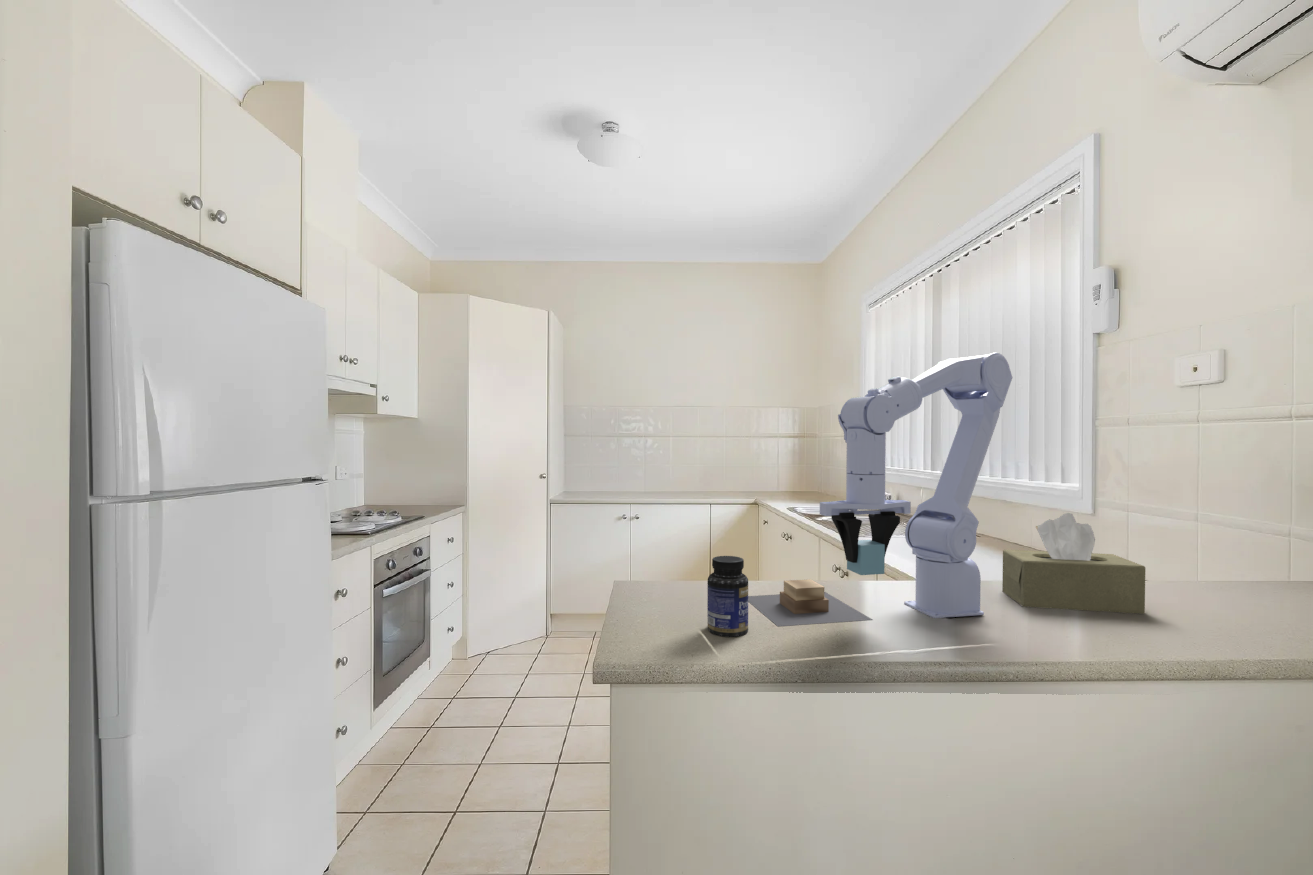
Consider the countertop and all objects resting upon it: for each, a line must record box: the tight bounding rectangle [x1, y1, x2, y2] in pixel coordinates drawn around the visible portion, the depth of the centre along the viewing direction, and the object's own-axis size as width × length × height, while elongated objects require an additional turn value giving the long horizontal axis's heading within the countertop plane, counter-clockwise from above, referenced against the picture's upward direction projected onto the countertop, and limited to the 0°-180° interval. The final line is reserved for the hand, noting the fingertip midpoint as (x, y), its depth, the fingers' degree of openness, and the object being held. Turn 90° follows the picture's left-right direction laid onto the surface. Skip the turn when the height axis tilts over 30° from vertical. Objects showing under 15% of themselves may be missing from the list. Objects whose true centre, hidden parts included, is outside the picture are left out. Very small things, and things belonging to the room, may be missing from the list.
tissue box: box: [1001, 512, 1146, 615], centre depth 103 cm, size 19×10×16 cm, turn 78°
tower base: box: [779, 590, 829, 614], centre depth 99 cm, size 6×6×2 cm
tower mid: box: [783, 578, 825, 601], centre depth 99 cm, size 5×5×2 cm
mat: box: [748, 591, 874, 628], centre depth 99 cm, size 16×16×1 cm
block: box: [846, 539, 886, 576], centre depth 91 cm, size 4×4×4 cm
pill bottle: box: [706, 555, 749, 638], centre depth 88 cm, size 6×6×11 cm
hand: (864, 560), depth 91 cm, fingers closed on block, 4 cm apart
